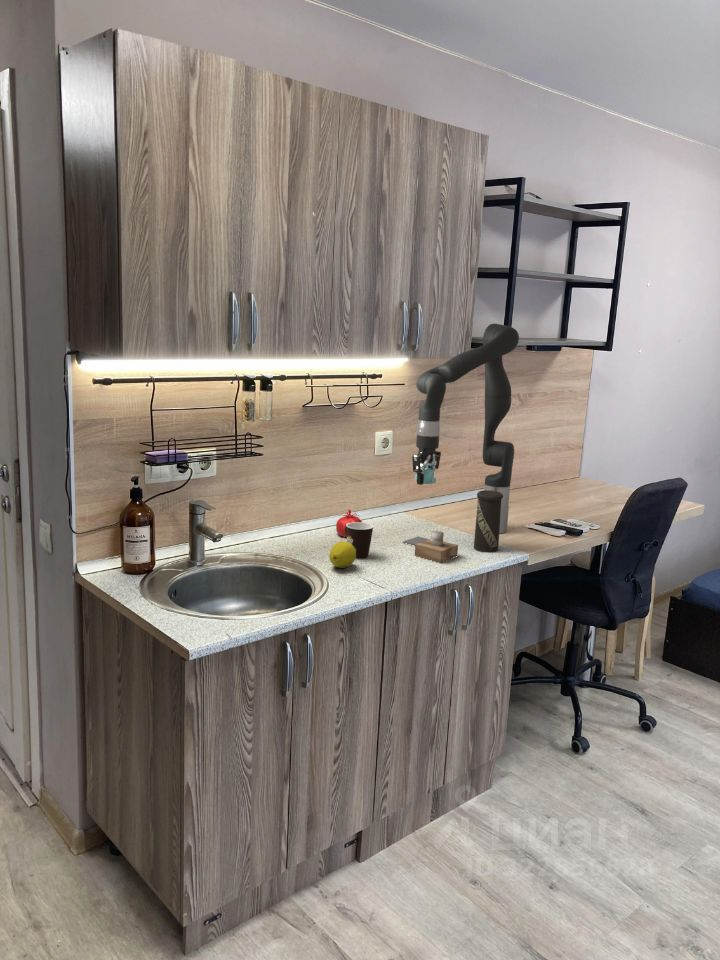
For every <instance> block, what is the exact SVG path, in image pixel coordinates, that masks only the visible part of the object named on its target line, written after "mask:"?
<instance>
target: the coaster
mask: <svg viewBox="0 0 720 960" xmlns="http://www.w3.org/2000/svg"><path fill="white" fill-rule="evenodd" d="M430 539H431V538H425V537H421V536H414V537H412V538H410V539H409V538H408V539H406V540H403V541H402V544H405V543H407V544H406V545H408V544H411V545H410V546H412V545H414V546H413V547H415V544H418V543H421V542H424V541H427V540H430Z"/></svg>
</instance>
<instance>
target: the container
mask: <svg viewBox="0 0 720 960" xmlns="http://www.w3.org/2000/svg"><path fill="white" fill-rule="evenodd" d="M476 497H477V507H476V517H475V528H474V529H475V531H474V540H473V549H475V551H479V552H483V553H486V552H487V553H493V551H494V552H497V551H498V550H499V545H500V533H499V531H500V513H501V500H502V498H503V495H502V494H501V493H500V492H497V491H490V490H484V489H483V490H480V491H478V492H477V493H476Z"/></svg>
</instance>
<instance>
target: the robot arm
mask: <svg viewBox="0 0 720 960" xmlns="http://www.w3.org/2000/svg"><path fill="white" fill-rule="evenodd" d="M482 336H483V337H482V345H480V346H479V347H476V348H473V349H470V350H467V351H463V352H461V353H459V354H457V355H455V356H453V357H452V358H450V359H449V360H447V361H446V362H444V363H443V364H441V365H438V366H436V367H432V368H431V369H428V370H426V371H425V372H423V373H422V374H420V375H419V376H418V377H417V380H416V388H417V390H418V391H419V392H420V393H421V394H424V395H426V397H425V400H424V401H423V402H421V403H420V404H419V407H418V420H417V424H416V425H417V427H416V441H415V442H416V443H415V446H416V448H418V451H417V454H412V456H411V458H412V460H411V461H412V471H413V472H414V473H415V474H416V475H417V480H416V485H420V486H422V485H424V484H423V480H424V474H423V473H424V470H425V468H432V469H434V472H435V471H436V470H438V469H439V467H440V460H441V455H442V452H441V451H438V450H437V449H439V447H440V433H441V432H440V431H441V429H440V428H441V423H440V420H441V419H440V418H441V417H440V415H441V406H442V405H443V401H444V398H445V394H446V390H447V384H448V383H449V384H451V383H454V382H456V381H458V380H460V379H461V378H462V377H464V376H465V375H467V374H468V373H471V371H474V370H475V369H477V368H478V367H481V366H483V365H484V378H485V379H484V430H483V443H482V460H483V461H482V462H483V463H484V465H485V466H486V465H487V466H491V467H496V468H497V467H499V468H501V469H500V471H499V472H496V473H492V474H488V475H487V476H485V479H484V488H483V490H490V491H497V492H500V493H501V494H502V495H503V498H502V500H501V513H500V531H499V534H504V533H506V532H507V530H508V524H509V523H508V520H509V510H510V506H509V505H510V494H511V493H510V491H511V489H510V488H511V481H512V472H513V463H514V458H515V446H514V444H513V443H512V442H511V441H510V442H508V441H502V440H501V441H500V440H495V434H496V431H497V429H498V427H499V426H500V424H501V423H502V421H503V420H504V419H505V417H506V416H507V414H508V413H509V412H510V409H511V406H512V388H511V383H510V380H509V377H508V375H507V372H506V370H505V366H504V362H503V356H505V355H507V354H509V353H511V352H512V351H514V350H515V349H516V348H517V346H518V345H519V341H520V335H519V332H518V331H517V329H515V328H514V327H512V326H508V325H505V324H499V323H490V324H489V325H488V326H486V328H485V329H484V333H483V335H482ZM421 468H422V470H421Z"/></svg>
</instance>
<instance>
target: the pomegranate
mask: <svg viewBox="0 0 720 960" xmlns="http://www.w3.org/2000/svg"><path fill="white" fill-rule="evenodd" d="M337 516H338V517H339V516H341V514H338V515H337ZM353 522H362V523H364V522H363V521H362V520H361V519H360V515H359V514H357V513H353V514H352V510H351V509H348V510H347V512H345V514H342V516H341V517H340V518H339V519H338V520H337V521H336V522H335V523H336V524H335V530H336V533H337V535H339V536H341V537H344V538H345V539H347V536H346V533H345V526H346V525H347V524H348V523H353Z"/></svg>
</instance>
